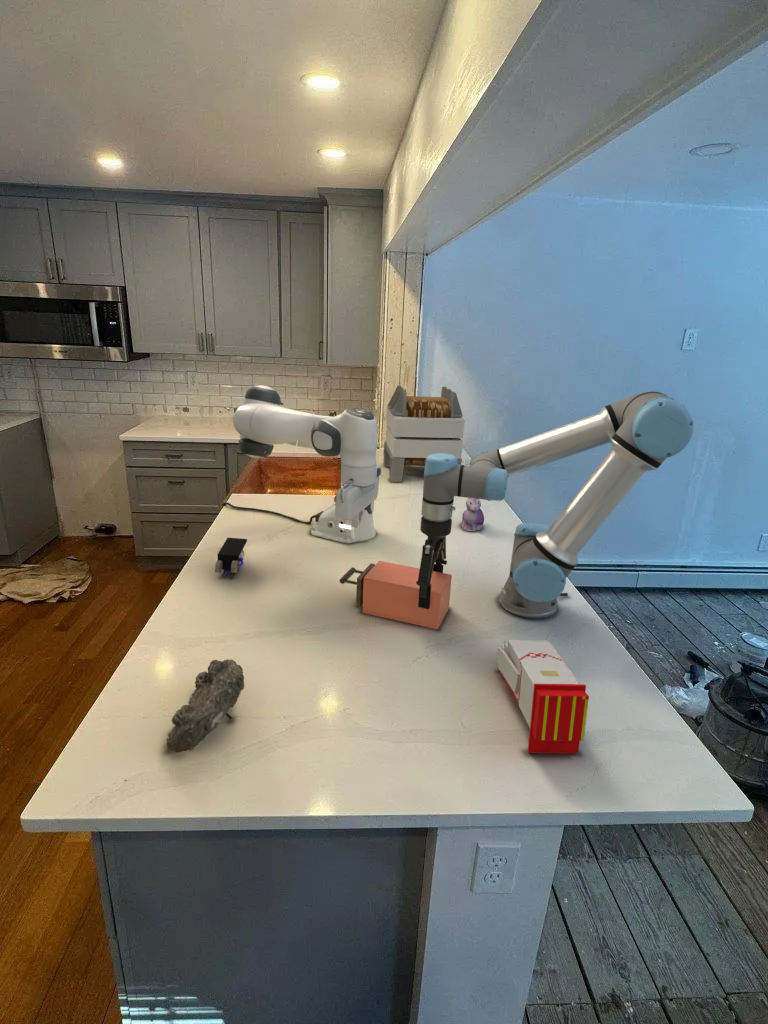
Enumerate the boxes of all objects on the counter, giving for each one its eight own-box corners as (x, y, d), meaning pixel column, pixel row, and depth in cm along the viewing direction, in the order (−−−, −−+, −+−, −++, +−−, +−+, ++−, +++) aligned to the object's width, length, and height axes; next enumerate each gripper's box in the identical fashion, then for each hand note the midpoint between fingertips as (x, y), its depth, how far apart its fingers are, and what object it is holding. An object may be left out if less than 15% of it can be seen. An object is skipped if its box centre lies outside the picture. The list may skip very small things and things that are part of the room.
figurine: (470, 533, 202) (474, 493, 197) (453, 524, 211) (457, 485, 206) (491, 530, 207) (495, 491, 202) (474, 520, 215) (478, 483, 210)
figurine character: (238, 584, 162) (249, 557, 175) (236, 562, 158) (247, 536, 172) (215, 584, 161) (227, 556, 175) (212, 561, 158) (225, 535, 171)
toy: (545, 623, 127) (598, 692, 98) (539, 677, 130) (590, 761, 101) (491, 622, 127) (529, 691, 98) (487, 677, 130) (522, 760, 100)
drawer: (337, 602, 150) (337, 574, 147) (352, 586, 159) (352, 559, 156) (426, 622, 142) (428, 592, 140) (436, 604, 151) (438, 576, 148)
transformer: (382, 463, 289) (386, 382, 275) (445, 464, 293) (451, 384, 279) (390, 482, 257) (394, 392, 243) (460, 483, 261) (468, 394, 247)
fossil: (192, 660, 117) (244, 628, 112) (224, 691, 120) (276, 661, 115) (142, 746, 98) (202, 712, 93) (182, 779, 101) (242, 748, 96)
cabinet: (362, 612, 147) (363, 577, 144) (377, 594, 157) (379, 560, 154) (437, 629, 141) (441, 593, 138) (448, 609, 151) (451, 574, 148)
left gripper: (353, 487, 132) (352, 542, 136) (383, 466, 150) (381, 515, 155) (329, 483, 134) (328, 537, 138) (361, 463, 152) (360, 512, 156)
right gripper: (439, 536, 126) (432, 621, 134) (462, 505, 147) (455, 580, 155) (407, 530, 129) (401, 615, 136) (434, 500, 150) (428, 575, 157)
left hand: (356, 526), depth 147 cm, fingers closed
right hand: (430, 597), depth 145 cm, fingers closed on cabinet, 11 cm apart
